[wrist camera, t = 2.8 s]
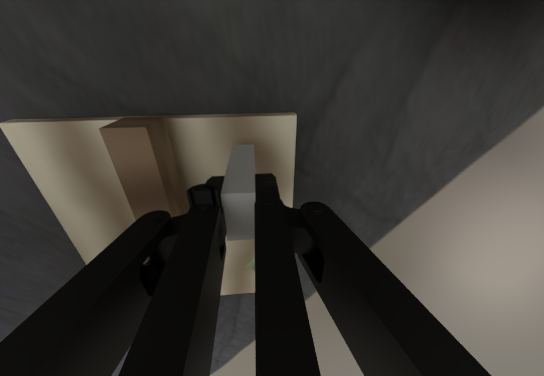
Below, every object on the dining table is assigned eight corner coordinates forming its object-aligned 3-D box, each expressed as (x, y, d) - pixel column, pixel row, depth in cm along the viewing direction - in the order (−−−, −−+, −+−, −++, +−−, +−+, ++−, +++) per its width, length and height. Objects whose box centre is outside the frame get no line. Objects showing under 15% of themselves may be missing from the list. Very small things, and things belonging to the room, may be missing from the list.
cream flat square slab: (116, 295, 28) (111, 304, 27) (13, 119, 17) (-4, 123, 16) (287, 281, 30) (288, 289, 28) (294, 112, 19) (296, 115, 17)
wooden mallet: (219, 298, 28) (211, 362, 22) (183, 301, 27) (165, 367, 21) (181, 112, 16) (142, 141, 10) (119, 113, 16) (42, 144, 10)
